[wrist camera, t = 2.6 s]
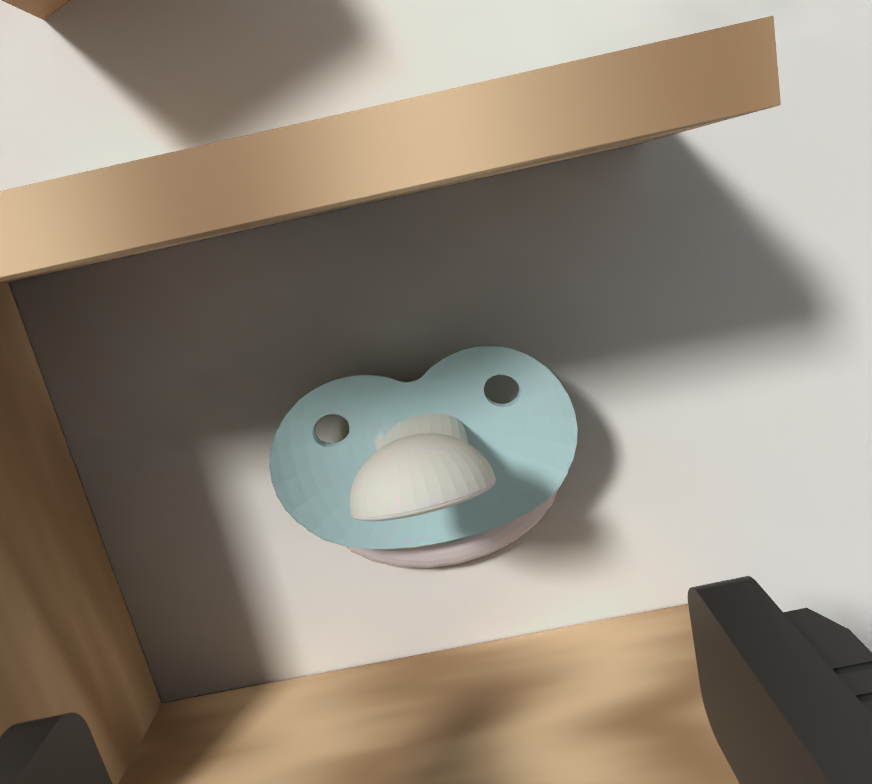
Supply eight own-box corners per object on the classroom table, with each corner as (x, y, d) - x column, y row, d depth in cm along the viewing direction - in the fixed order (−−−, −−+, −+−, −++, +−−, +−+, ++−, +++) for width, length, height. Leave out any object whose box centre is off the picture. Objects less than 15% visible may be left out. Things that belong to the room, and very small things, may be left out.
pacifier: (585, 522, 20) (543, 316, 18) (652, 670, 14) (600, 386, 12) (332, 578, 20) (269, 382, 19) (294, 746, 15) (195, 480, 13)
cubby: (636, 89, 17) (773, 15, 10) (707, 637, 21) (841, 850, 14) (-56, 244, 18) (-358, 271, 11) (135, 744, 22) (-1, 993, 15)
